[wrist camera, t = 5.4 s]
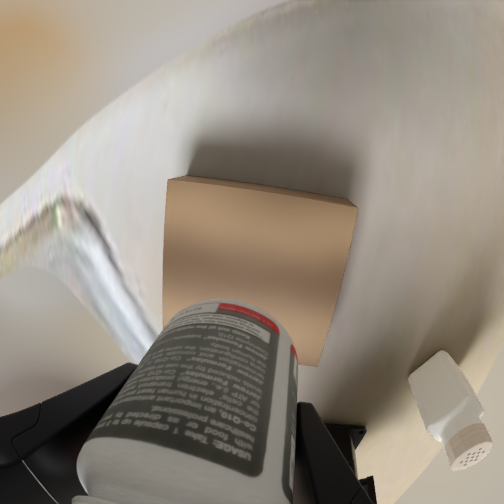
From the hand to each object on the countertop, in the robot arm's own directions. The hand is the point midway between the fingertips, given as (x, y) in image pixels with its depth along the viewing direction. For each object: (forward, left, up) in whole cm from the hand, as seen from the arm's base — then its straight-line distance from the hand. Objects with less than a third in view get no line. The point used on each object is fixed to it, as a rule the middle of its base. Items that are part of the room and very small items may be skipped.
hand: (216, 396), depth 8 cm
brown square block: (0, 0, -12) cm, 12 cm away
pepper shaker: (-7, -16, -12) cm, 21 cm away
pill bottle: (0, 0, -2) cm, 2 cm away
